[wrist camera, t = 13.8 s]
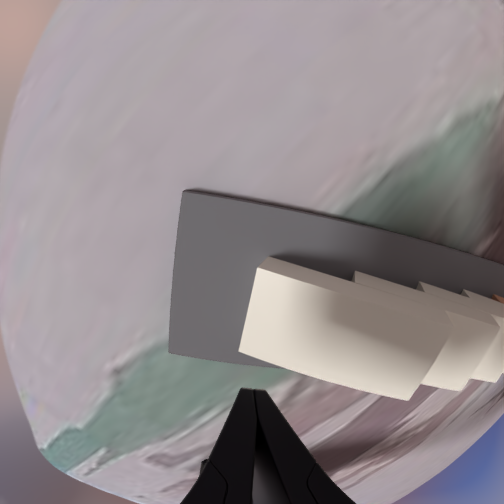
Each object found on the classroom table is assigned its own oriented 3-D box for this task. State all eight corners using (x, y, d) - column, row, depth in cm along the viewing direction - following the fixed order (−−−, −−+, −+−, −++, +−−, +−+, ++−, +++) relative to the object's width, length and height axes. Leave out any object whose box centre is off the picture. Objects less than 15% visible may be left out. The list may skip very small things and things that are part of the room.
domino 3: (419, 281, 15) (519, 315, 13) (390, 344, 17) (489, 369, 14) (425, 292, 14) (529, 326, 11) (392, 359, 16) (495, 382, 13)
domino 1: (267, 256, 14) (444, 310, 12) (249, 334, 16) (405, 380, 14) (257, 267, 13) (454, 326, 10) (238, 351, 14) (408, 400, 12)
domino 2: (355, 270, 15) (490, 313, 12) (327, 342, 17) (454, 374, 14) (355, 282, 13) (500, 327, 11) (324, 358, 15) (460, 391, 12)
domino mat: (466, 359, 20) (469, 362, 19) (170, 346, 17) (168, 352, 16) (512, 267, 17) (516, 270, 16) (184, 189, 14) (182, 191, 13)
